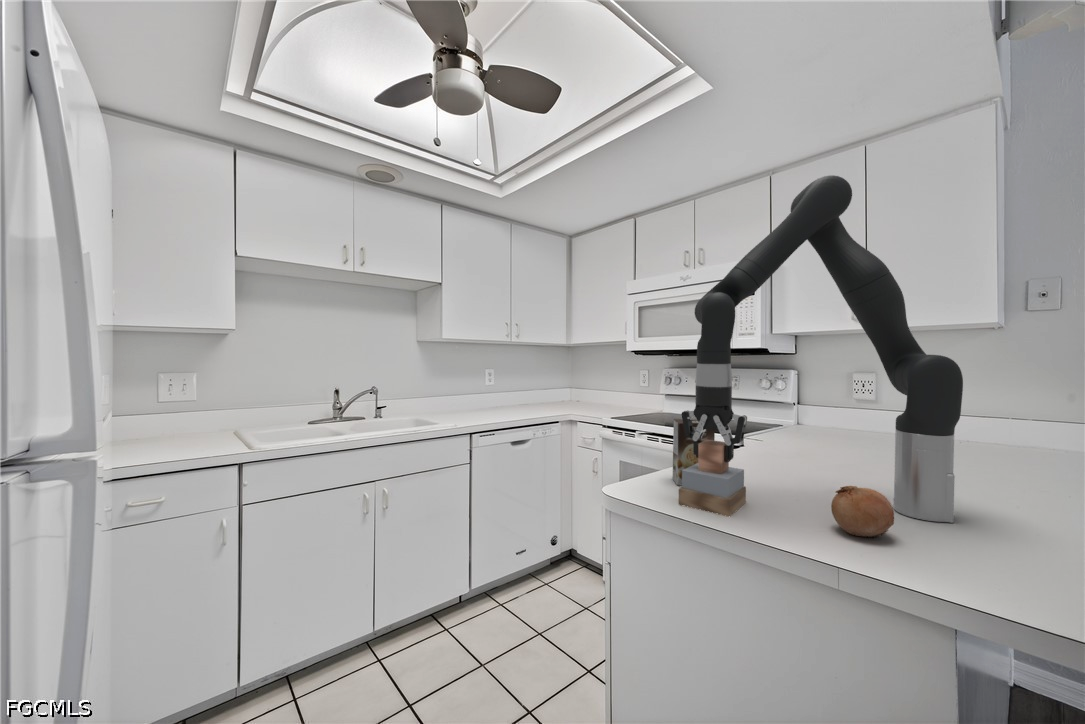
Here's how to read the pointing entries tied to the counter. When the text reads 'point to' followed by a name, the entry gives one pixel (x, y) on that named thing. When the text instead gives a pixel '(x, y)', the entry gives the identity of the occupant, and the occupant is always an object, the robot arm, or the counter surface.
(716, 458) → the terracotta block
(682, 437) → the coffee box
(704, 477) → the slate block
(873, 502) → the onion
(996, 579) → the counter surface
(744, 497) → the walnut block
